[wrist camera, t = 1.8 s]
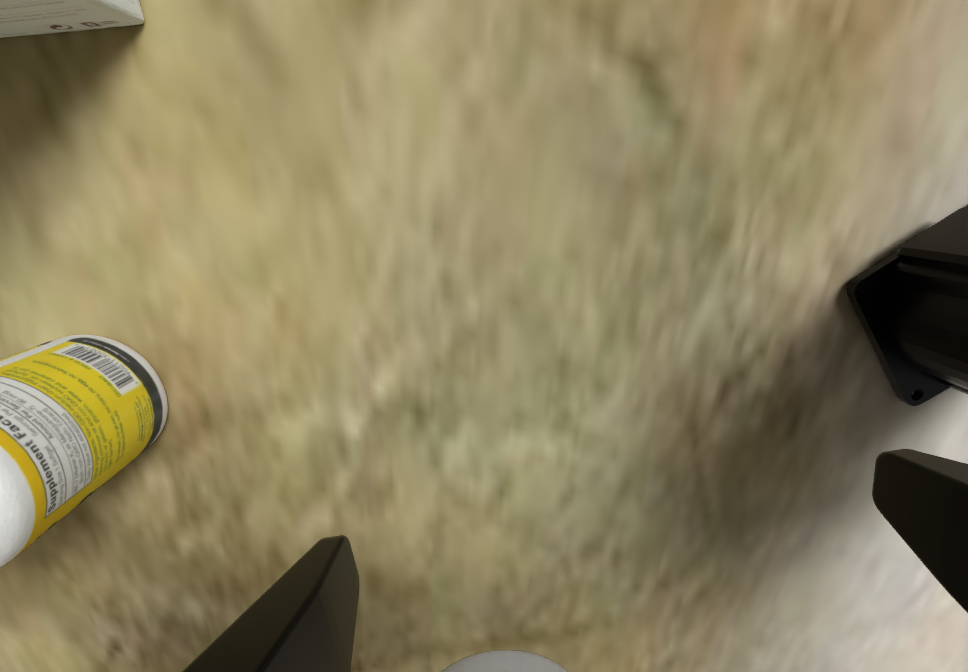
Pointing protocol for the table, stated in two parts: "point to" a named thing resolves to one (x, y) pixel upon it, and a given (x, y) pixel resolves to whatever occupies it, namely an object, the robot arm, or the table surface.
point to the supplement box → (65, 15)
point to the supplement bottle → (69, 428)
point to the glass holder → (505, 663)
